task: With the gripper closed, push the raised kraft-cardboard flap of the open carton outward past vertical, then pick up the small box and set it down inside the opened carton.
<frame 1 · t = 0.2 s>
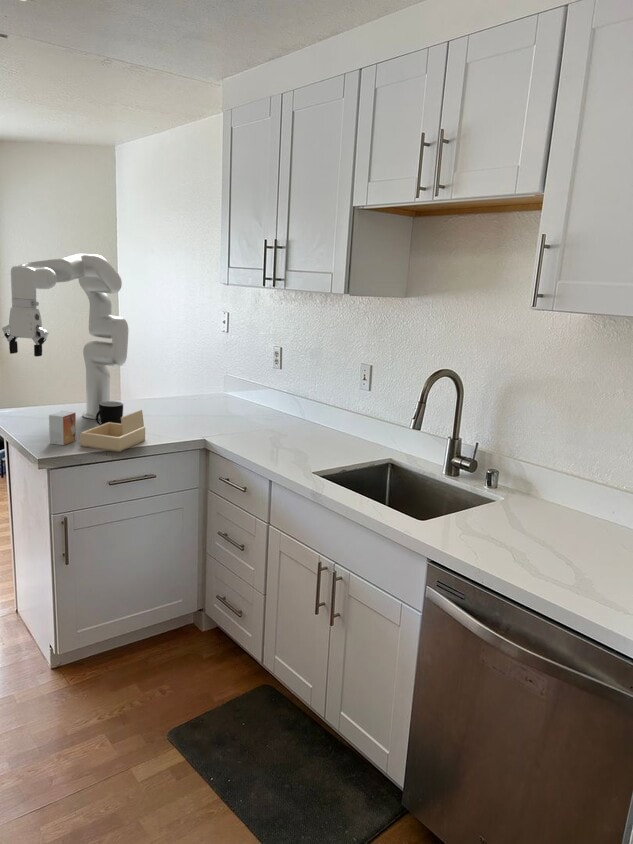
hand: (25, 354, 213), 31 cm above the worktop, fingers open, 9 cm apart
carton: (113, 443, 226), on the worktop
flap: (132, 422, 222), point 9 cm above the worktop, hinge at 82.0°
small box: (63, 442, 222), on the worktop
mug: (108, 429, 243), on the worktop
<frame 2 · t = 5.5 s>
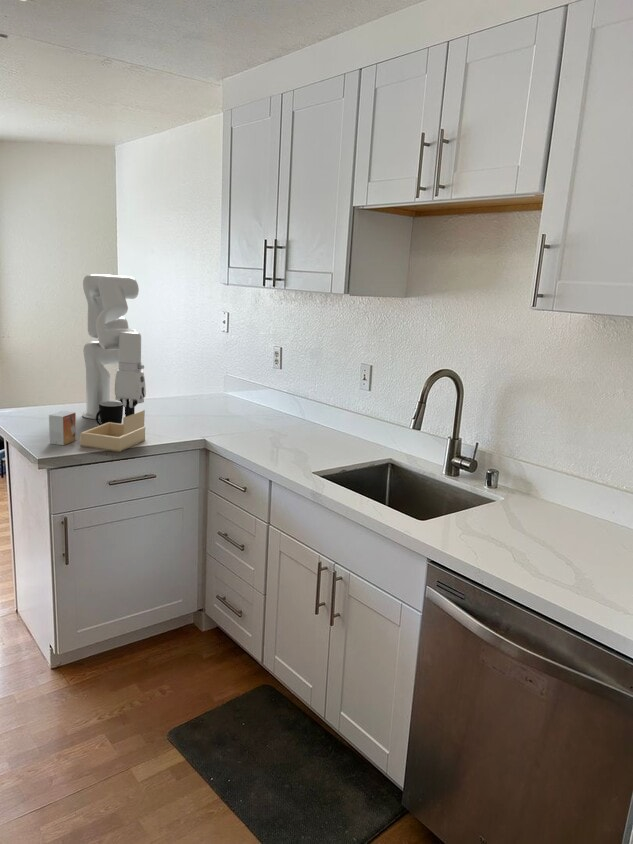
hand: (129, 417, 222), 10 cm above the worktop, fingers closed
flap: (134, 422, 222), point 9 cm above the worktop, hinge at 91.1°, touching gripper
everything else where it was.
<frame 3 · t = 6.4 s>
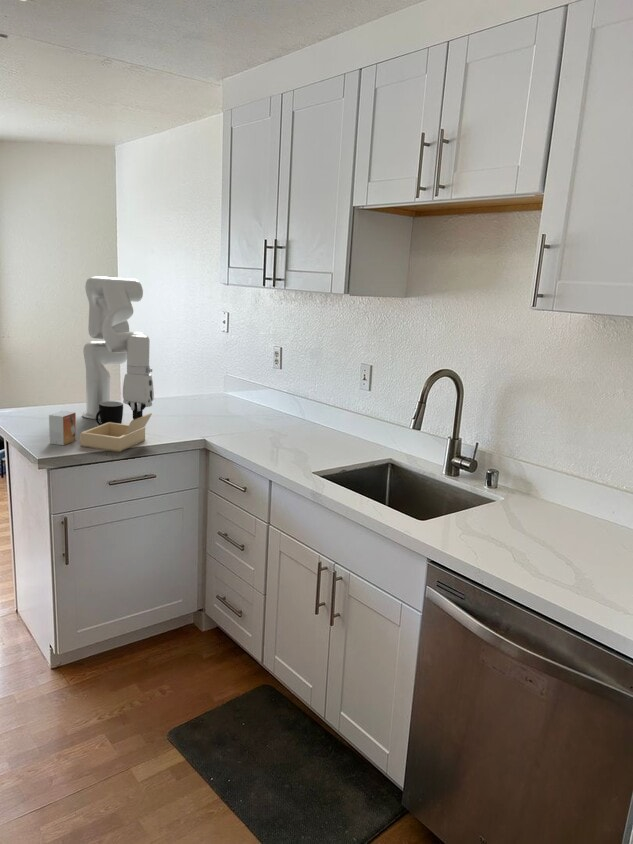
hand: (137, 421, 221), 10 cm above the worktop, fingers closed
flap: (138, 423, 222), point 8 cm above the worktop, hinge at 118.9°, touching gripper
everything else where it was.
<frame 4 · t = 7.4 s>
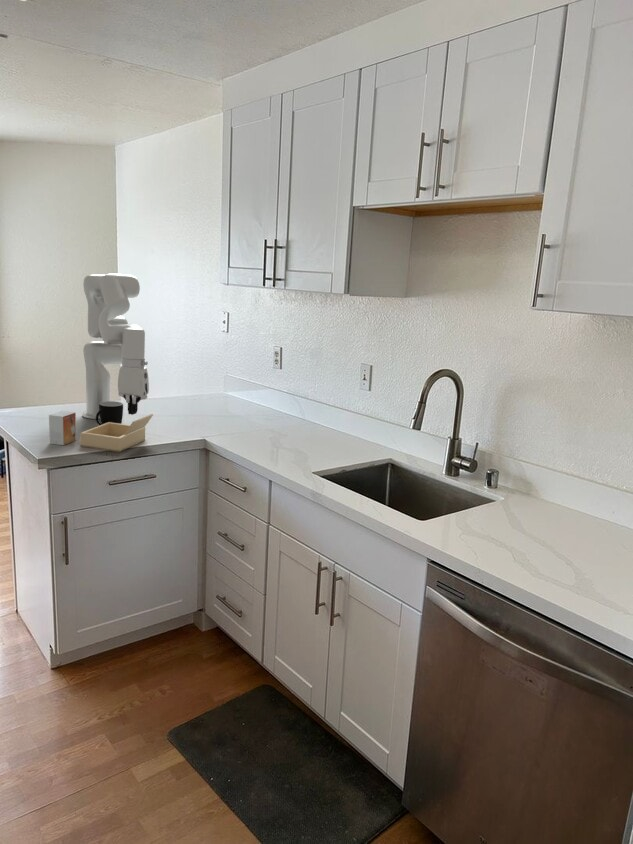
hand: (132, 413, 222), 12 cm above the worktop, fingers closed
flap: (138, 424, 222), point 8 cm above the worktop, hinge at 124.1°
everything else where it was.
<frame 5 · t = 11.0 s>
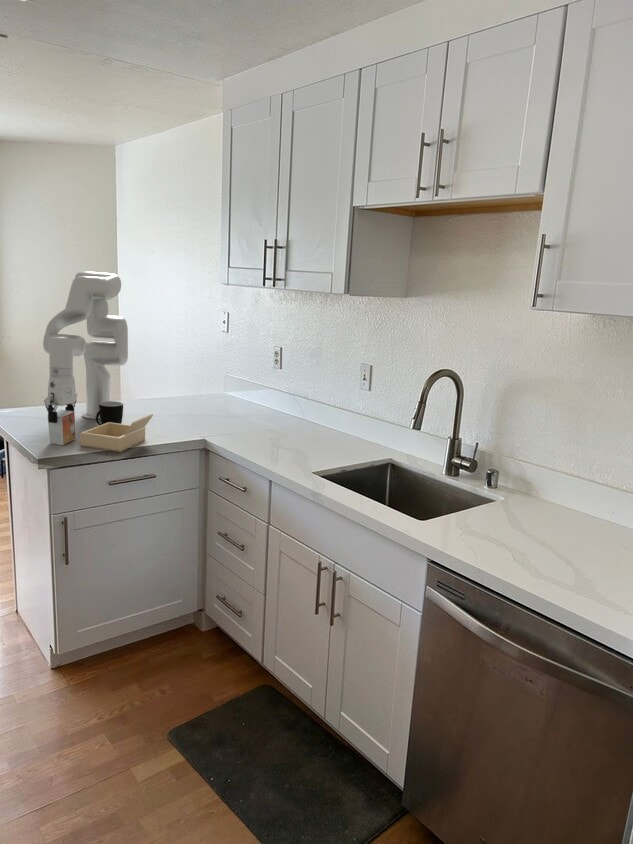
hand: (61, 420, 219), 8 cm above the worktop, fingers open, 9 cm apart
flap: (139, 424, 222), point 8 cm above the worktop, hinge at 124.9°
small box: (63, 441, 222), on the worktop, touching gripper
everything else where it was.
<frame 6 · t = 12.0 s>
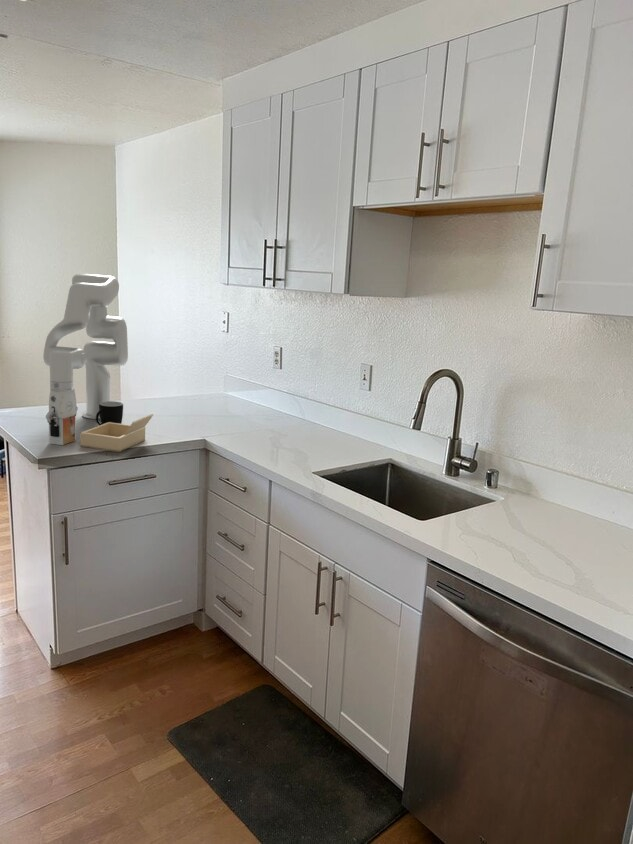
hand: (62, 433, 221), 3 cm above the worktop, fingers closed on small box, 8 cm apart
small box: (62, 442, 222), on the worktop, touching gripper
everything else where it was.
when the fingers open (6 cm above the worktop, at t = 18.7 s): small box drops 2 cm, resting on carton.
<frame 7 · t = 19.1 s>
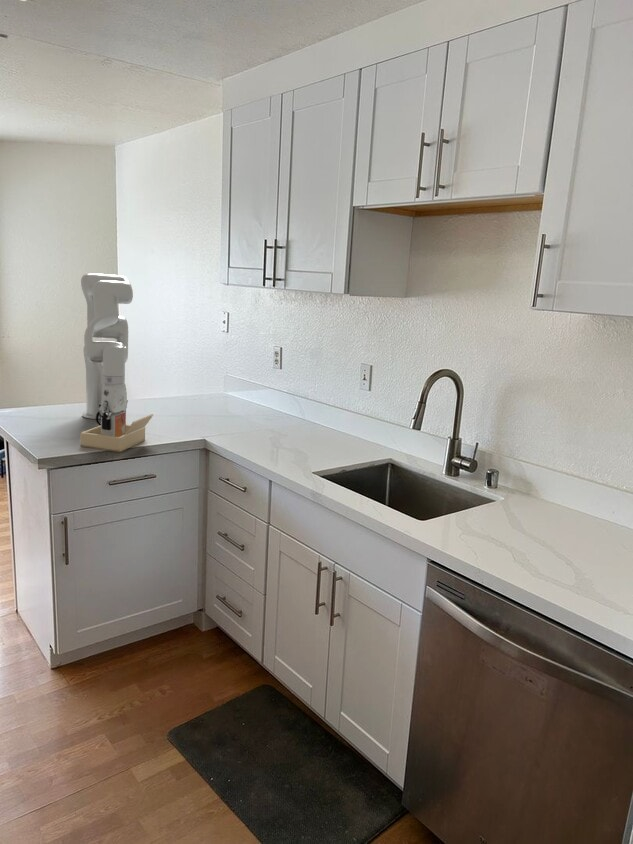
hand: (113, 426, 224), 6 cm above the worktop, fingers open, 9 cm apart
small box: (113, 441, 226), resting on carton
everything else where it was.
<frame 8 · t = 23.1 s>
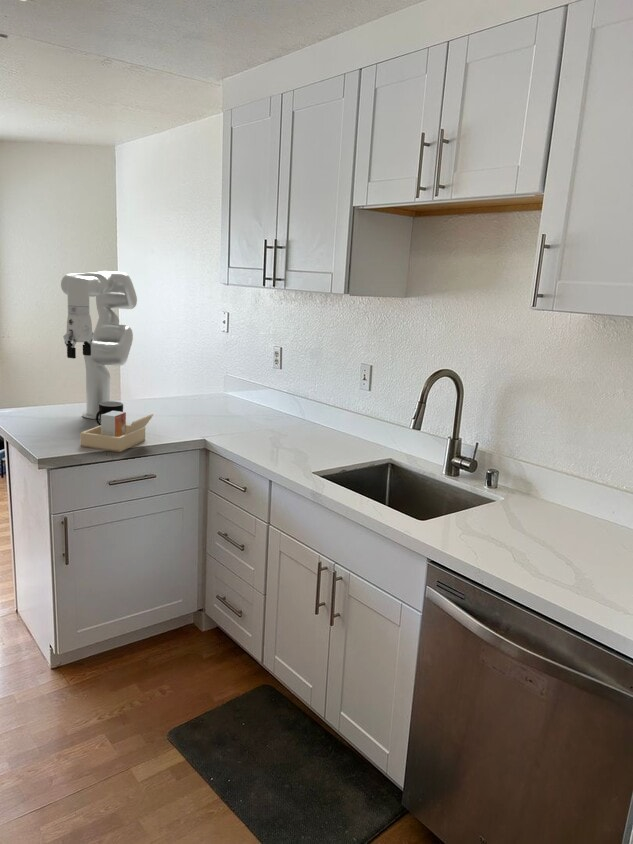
hand: (79, 356, 234), 28 cm above the worktop, fingers open, 9 cm apart
nothing on the worktop moved.
at the end: flap at +125° (first picture: +82°); small box inside the target area on the carton (0.3 cm from its centre), point 0.4 cm above the carton's base; small box tilted 0° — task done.
